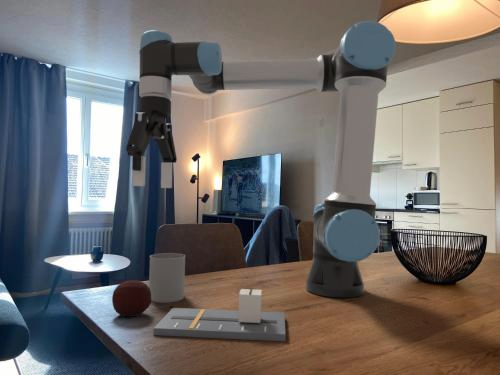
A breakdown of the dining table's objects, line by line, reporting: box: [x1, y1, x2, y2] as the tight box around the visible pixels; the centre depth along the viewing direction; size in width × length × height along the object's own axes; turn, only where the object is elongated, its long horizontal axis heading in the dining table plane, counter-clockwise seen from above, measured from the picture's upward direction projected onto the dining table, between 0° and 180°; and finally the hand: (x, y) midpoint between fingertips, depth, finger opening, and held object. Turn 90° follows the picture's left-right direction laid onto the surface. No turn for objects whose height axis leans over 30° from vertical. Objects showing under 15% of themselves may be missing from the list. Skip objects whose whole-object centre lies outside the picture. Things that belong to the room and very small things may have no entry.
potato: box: [111, 279, 152, 317], centre depth 75 cm, size 7×8×7 cm
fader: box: [238, 288, 263, 323], centre depth 69 cm, size 4×4×5 cm
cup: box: [148, 252, 186, 303], centre depth 89 cm, size 8×8×10 cm
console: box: [153, 307, 287, 342], centre depth 69 cm, size 23×12×1 cm, turn 86°
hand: (153, 187), depth 87 cm, fingers open, 13 cm apart
